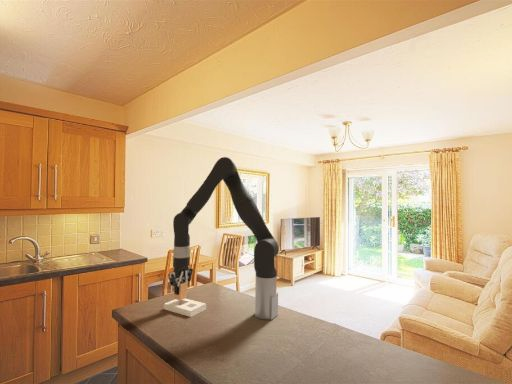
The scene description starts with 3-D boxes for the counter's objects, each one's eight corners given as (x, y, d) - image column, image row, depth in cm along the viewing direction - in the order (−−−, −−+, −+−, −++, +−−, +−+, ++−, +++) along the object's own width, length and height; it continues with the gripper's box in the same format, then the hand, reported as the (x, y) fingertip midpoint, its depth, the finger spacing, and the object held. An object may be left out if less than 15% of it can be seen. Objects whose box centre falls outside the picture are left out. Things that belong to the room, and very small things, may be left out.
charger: (186, 297, 129) (187, 278, 130) (180, 300, 126) (180, 280, 126) (180, 296, 131) (180, 276, 132) (173, 298, 128) (174, 278, 128)
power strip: (205, 309, 127) (206, 303, 127) (190, 317, 119) (190, 310, 119) (180, 302, 135) (180, 296, 135) (164, 309, 127) (164, 303, 127)
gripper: (176, 259, 121) (174, 299, 121) (198, 254, 133) (197, 290, 133) (163, 257, 125) (162, 296, 124) (186, 252, 137) (185, 287, 137)
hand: (180, 292), depth 129 cm, fingers closed on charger, 4 cm apart
